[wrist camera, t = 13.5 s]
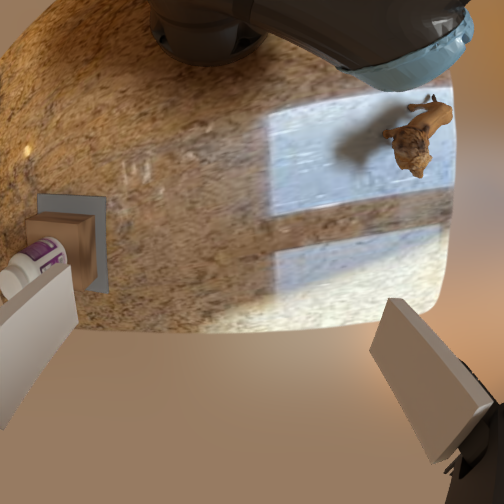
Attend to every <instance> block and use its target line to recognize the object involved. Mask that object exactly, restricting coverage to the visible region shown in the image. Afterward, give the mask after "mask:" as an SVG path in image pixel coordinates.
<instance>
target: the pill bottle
mask: <svg viewBox="0 0 504 504" xmlns="http://www.w3.org/2000/svg"><path fill="white" fill-rule="evenodd" d="M55 263H61V264H67V255H66V252H65V249H64V247H63V245H62V244H61V243H60V242H59V241H58V240H57V239H55V238H53V237H44V238H42V239H40V240H38V241H36V242H35V243H33V244H31V245H30V246H28V247H26V248H25V249H23V250H21V251H20V252H18V253H17V254H15V255H14V256H13V257H12V258H11V259H10V261H9V263H8V266H7V267H6V268H5V269H4V270H2V271H1V272H0V288H1V291H2V293H3V294H4V296H5V297H6V298H7V299H8V300H9V299H11V298H12V297H13V296H14V295H15V294H17V293H18V292H19V291H20V290H22V289H23V288H24V287H25V286H27V285H28V284H29V283H30V282H32V281H33V280H34V279H35V278H37V277H38V276H39V275H41V274H42V273H43V272H44V271H46V270H47V269H48V268H50V267H51V266H52V265H54V264H55Z"/></svg>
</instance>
